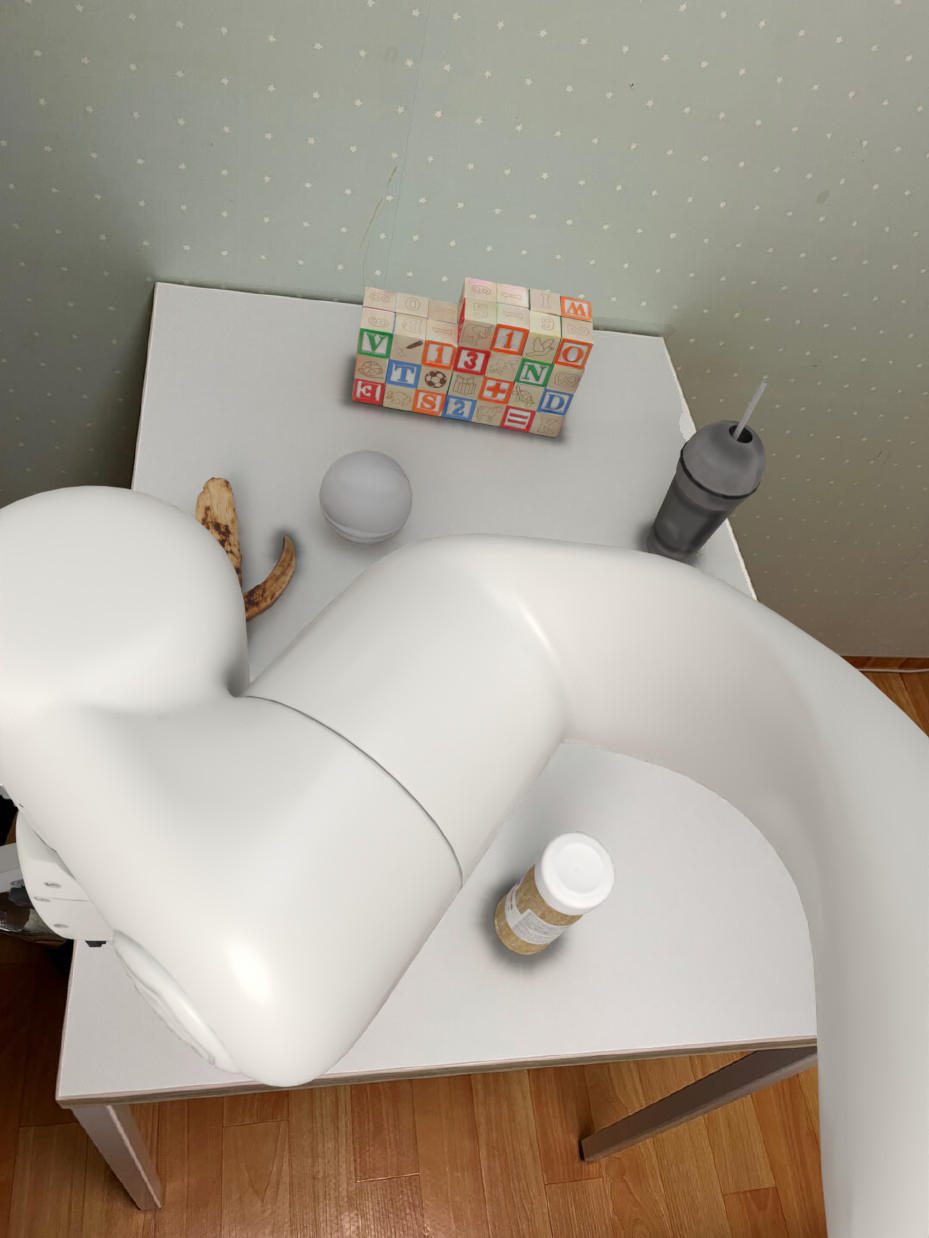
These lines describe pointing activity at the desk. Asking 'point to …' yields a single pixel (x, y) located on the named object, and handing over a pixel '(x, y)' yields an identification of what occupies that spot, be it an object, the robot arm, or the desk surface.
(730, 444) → the beverage cup
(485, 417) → the stack of blocks
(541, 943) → the sprinkles bottle
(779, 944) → the desk surface
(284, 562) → the lashed bone hook
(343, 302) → the desk surface
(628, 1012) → the desk surface
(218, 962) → the robot arm
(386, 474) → the bath bomb
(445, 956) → the desk surface
